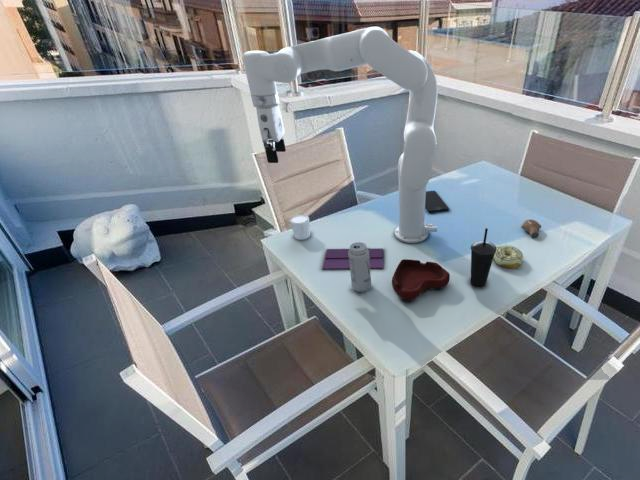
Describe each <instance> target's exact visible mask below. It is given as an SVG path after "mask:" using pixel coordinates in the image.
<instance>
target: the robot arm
mask: <svg viewBox="0 0 640 480" xmlns="http://www.w3.org/2000/svg"><path fill="white" fill-rule="evenodd" d="M242 63H243V67H244V71H245V74H246V75H245V76H246V80H247V84H248V88H249V92H250V97H251V102H252V106H253V107H254V108H256V116H257V122H258V123H257V124H258V127H259V132H260V137H261V140H262V143H263V147H264V151H265V155H266V156H265V157H266V160H267V164H278V163H279V156H278V153H285V152H286V151H287V149H286V144H285V139H284V135H285V134H286V129H285V125H284V120H283V116H282V112H281V107H280V105H281V104H280V99H279V93H278V87H277V83H281V84H290V83H292V82H294V81H295V80H296V79H297V78H298V76H299V75H302V74H307V73H311V72H316V71H322V70H329V71H332V72H342V71H346V70H350V69H354V68H359V67H363V66H369V67H370V68H372V69H373V70H375V71H376V72H377V73H379V74H380V75H381V76H384V77H385V78H387V79H388V80H389V81H391V82H393V83H394V84H396V86H399V87H400V88H402V89H404V90H406V91H409V99H408V109H407V113H406V114H407V115H406V121H405V124H404V125H405V126H404V129H403V140H404V148H403V153H401V155H400V156H399V159H398V163H397V176H398V226H397V227H396V228H395V229H394V236H395V238H396V239H397V240H399V241H400V242H404V243H409V244H416V243H421V242H423V241H425V240H426V239H427V238H428V236H429V233H436V232H437V231H438V226H434V224H433V223H426V219H425V218H426V208H425V198H426V191H427V185H428V183H429V181H430V179H431V174H432V171H433V167H434V161H435V155H436V150H437V137H436V133H435V129H434V124H435V117H436V111H437V105H438V97H439V96H438V94H439V93H438V92H439V89H438V81H437V77H436V75H435V71H434V70H433V67H432V65H431V64H430V62H429V61H428V60H427V59H426V58H425V57H424V56H423V55H422V54H420V53H419V52H418V51H415V50H411V49H409V50H408V49H406V48H405V47H403V46H402V45H401V44H399V43H398V42H396V41H395V40H394V39H392V38H391V37H390V36H389V34H388V32H387V31H386V30H385V29H384V28H382V27H380V26H368V27H364V28H361V29H356V30H352V31H349V32H344V33H340V34H336V35H331V36H327V37H324V38H320V39H316V40H312V41H308V42H303V43H298V44H295V45H291V46H287V47H283V48H281V49H280V50H278V51H277V52H275V53H269V52H268V51H266V50H248V51H245V52H244V53H243V54H242Z"/></svg>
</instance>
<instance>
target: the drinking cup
mask: <svg viewBox="0 0 640 480" xmlns="http://www.w3.org/2000/svg"><path fill="white" fill-rule="evenodd" d="M488 231H489V228H487V227H485V230H484V234H483V240H477V241H474V242H472V243H471V244H470V250H471V253H470V285H471V286H472V287H474V288H476V289H482V288H484V287H485V286H486V284H487V281H488V278H489V274H490V271H491V267H492V264H493V262H494V260H493V257H494V254H495V253H496V250H497V248H496V245H495V244H494V243H493V242H490V241H487V236H488Z"/></svg>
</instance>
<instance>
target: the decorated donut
mask: <svg viewBox="0 0 640 480" xmlns="http://www.w3.org/2000/svg"><path fill="white" fill-rule="evenodd" d="M495 246H496V245H495ZM496 248H497V250H496V253H495V254H494V257H493V262H495V264H497V265H498V266H500V267H501V268H504V269H510V270H513V269H516V268H518V267H520V265H521V264H522V262H523V261H524V254H523V252H522V251H521V249H519V248H517V247H515V246H514V245H509V244H503V245H497V246H496Z"/></svg>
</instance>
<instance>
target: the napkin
mask: <svg viewBox="0 0 640 480" xmlns="http://www.w3.org/2000/svg"><path fill="white" fill-rule="evenodd" d="M349 249H350V248H327V249H326V250H325V251H326V252H325V256H324V259H323V265H322V270H350V264H349V254H348V251H349ZM368 250H369V259H370V270H376V269H377V270H379V269H381V270H382V269H384V249H383V248H368Z"/></svg>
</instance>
